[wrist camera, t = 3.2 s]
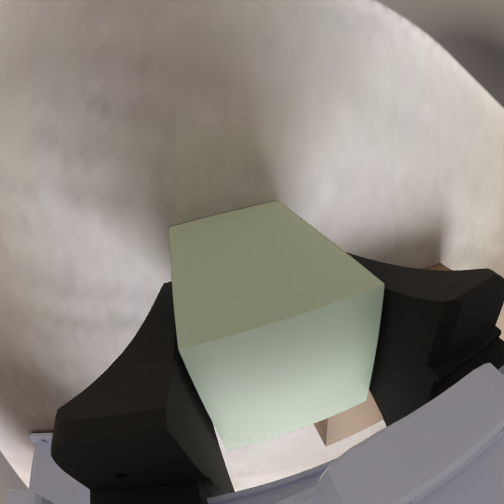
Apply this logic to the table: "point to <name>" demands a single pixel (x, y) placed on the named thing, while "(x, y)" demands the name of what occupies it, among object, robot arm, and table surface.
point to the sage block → (271, 321)
